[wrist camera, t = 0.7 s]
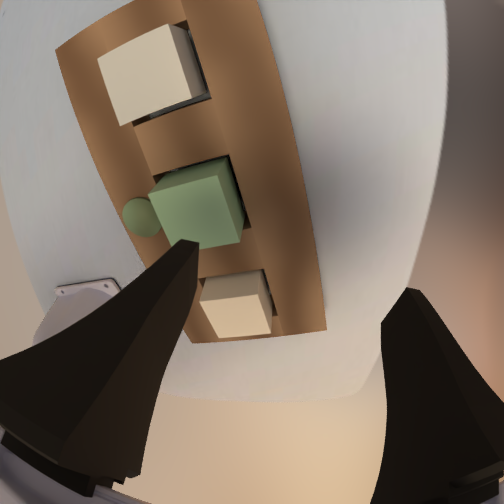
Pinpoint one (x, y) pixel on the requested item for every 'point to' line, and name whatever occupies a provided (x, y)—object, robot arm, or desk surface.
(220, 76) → the brown wooden slotted board
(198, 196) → the sage button
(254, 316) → the cream button
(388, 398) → the robot arm
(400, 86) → the desk surface
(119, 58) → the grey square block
